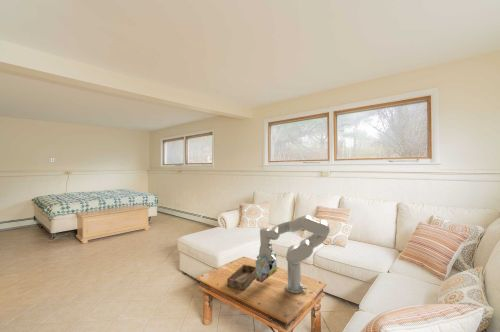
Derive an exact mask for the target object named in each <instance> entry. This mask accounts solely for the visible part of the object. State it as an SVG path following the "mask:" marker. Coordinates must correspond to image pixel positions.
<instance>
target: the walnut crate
mask: <svg viewBox="0 0 500 332" xmlns="http://www.w3.org/2000/svg"><path fill="white" fill-rule="evenodd" d="M255 279H256V266H254V265H250V264H248V265H247V264H242V265H241V266H240V267H239V268H238V269H236V271H235V272H233V274H231V275H230V276H229V277H228V278H227V288H231V289H233V290H234V289H235V290H239V291H243V292H244V291H246V289H247V288H248V287H249V286H250V285H251V283H252V282H253V281H254V280H255Z"/></svg>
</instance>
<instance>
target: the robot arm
mask: <svg viewBox="0 0 500 332" xmlns="http://www.w3.org/2000/svg"><path fill="white" fill-rule="evenodd" d="M302 230H305V231H307V232H309V233H312V234H311V235H310V236H309V235H308V237H306V238H303V239H302V240H300V243H299V246H297V245H295V244H293V245H290V246H289V247H288V248H287V251H286V256H285V258H286V261H287V284H286V285H285V290H287V292H289V293H292V294H299V293H303V291H304V290H306V291H307V290H308V287H307V285H306V284H303V281H302V275H301V274H302V271H301V269H302V268H301V267H302V266H301V265H302V262H303V261H305V260H306V259H308V258H310V257H311V256H312V255H313V253H314V250H315V248H317V247H319V246H320V245H322V244H323V243H324V242H325V241H326V240H327V238H328V236H329V233H330V231H331V229H330V224H329V223H328V221H326V220H324V219H321V220H319V221H316V220H314V219H313V218H312V216H311V215H309V214H305V215H301V216H299V217H296V218H294V219H292V220H290V221H286V222H282V223H279V224H277V225H274V226H273V227H272V228H271V229H269V228H268V227H263V228H262V227H261V228H260V230H259V238H260V239H259V241H260V246H259V252H258V253H259V254H258V255H257V256H256V260H258V259H259V258H261V257H265V258H268V261H269V262H270V270H271V269H272V268H273V266H272V263H274V262H275V261H276V262H277V257H276V258H275V257H274V256H273V252H274V251H273V247H272V246H273V244H272V243H271V241H276V240H278V239H279V238H280V235H282V234H285V233H288V232H291V233H296V232H299V231H302ZM272 259H273V261H272Z"/></svg>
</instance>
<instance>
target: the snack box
mask: <svg viewBox="0 0 500 332" xmlns="http://www.w3.org/2000/svg"><path fill="white" fill-rule="evenodd" d="M273 256H274V257H275V258H276V259H277V252H275V251H273ZM272 261H273V259H272ZM272 266H273V268H272V269H271V270H270V262H269V261H268V258H265V257H261V258H259V259H256V260H255V267H256V278H255V279H256V282H260V283H263V282H264V281H265V280H267V279H268V278H269V277H271V276H273V274H275V273H276V272H277V271H278V269H277V260H276V261H275V262H274V263H272Z"/></svg>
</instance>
